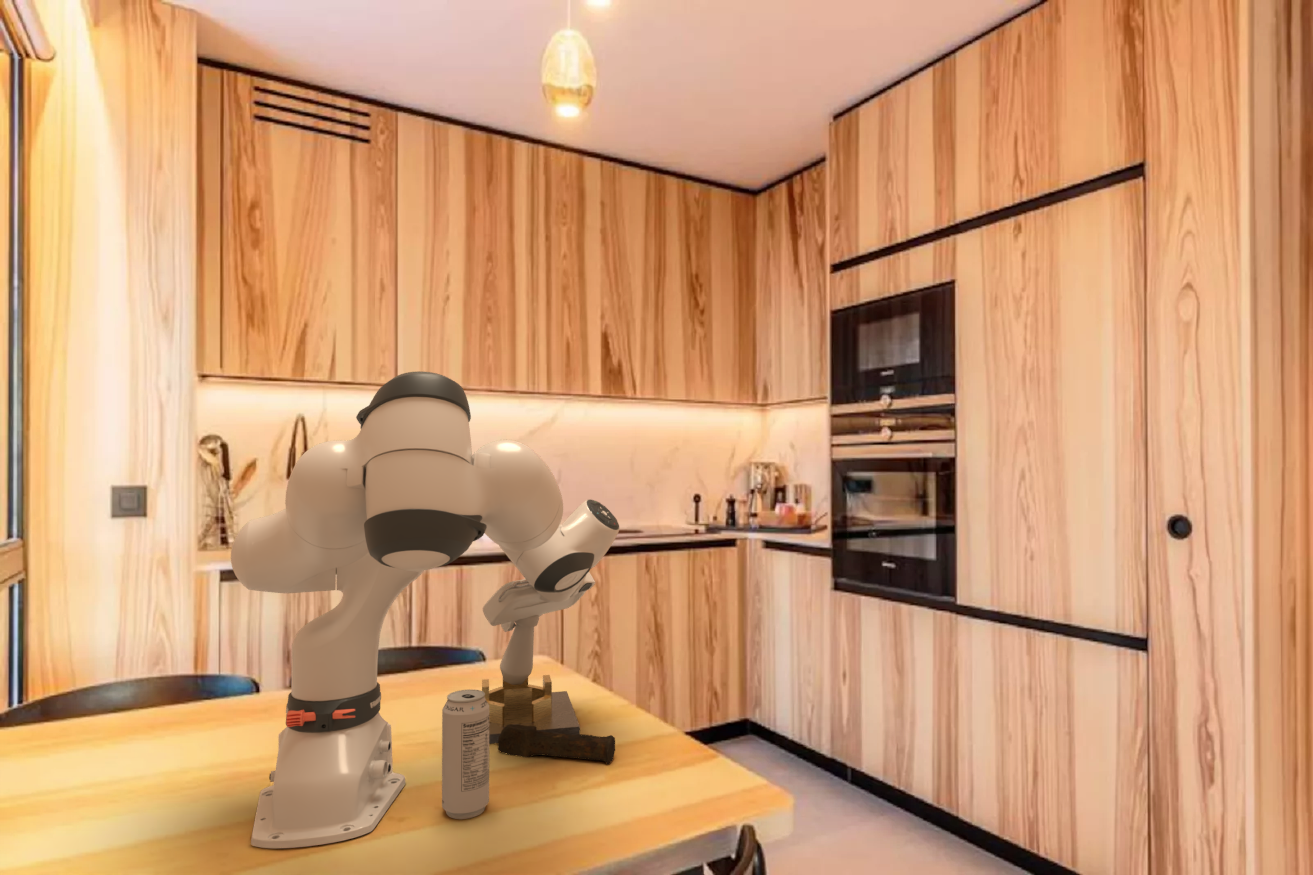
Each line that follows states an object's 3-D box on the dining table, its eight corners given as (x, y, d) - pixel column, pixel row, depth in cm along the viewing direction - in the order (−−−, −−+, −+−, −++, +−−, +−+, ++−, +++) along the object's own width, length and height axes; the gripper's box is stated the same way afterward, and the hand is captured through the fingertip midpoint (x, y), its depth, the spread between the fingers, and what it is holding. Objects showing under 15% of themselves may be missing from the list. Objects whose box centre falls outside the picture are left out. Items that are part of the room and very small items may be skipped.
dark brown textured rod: (617, 758, 115) (617, 727, 115) (609, 768, 111) (609, 736, 111) (506, 747, 120) (506, 718, 120) (494, 757, 116) (494, 726, 116)
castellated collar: (579, 735, 124) (579, 693, 124) (456, 746, 119) (456, 702, 119) (566, 698, 143) (566, 662, 143) (460, 707, 138) (460, 669, 139)
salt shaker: (490, 675, 131) (504, 607, 129) (514, 668, 136) (528, 602, 134) (513, 690, 128) (527, 620, 126) (536, 682, 133) (550, 614, 131)
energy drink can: (470, 795, 101) (470, 685, 102) (498, 808, 98) (498, 693, 98) (432, 811, 97) (433, 696, 97) (460, 825, 93) (460, 705, 93)
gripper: (519, 599, 117) (477, 652, 122) (601, 582, 134) (561, 629, 139) (500, 568, 120) (459, 622, 125) (583, 555, 136) (544, 603, 142)
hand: (514, 626), depth 132 cm, fingers closed on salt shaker, 3 cm apart
